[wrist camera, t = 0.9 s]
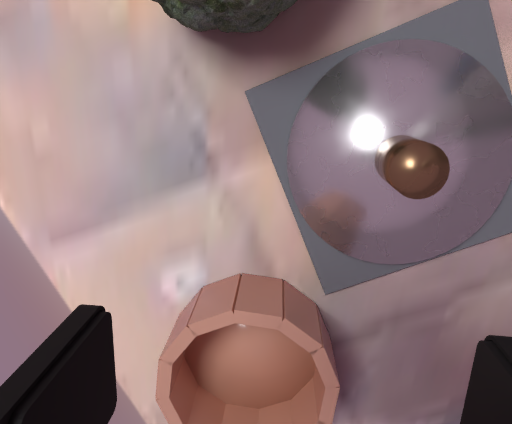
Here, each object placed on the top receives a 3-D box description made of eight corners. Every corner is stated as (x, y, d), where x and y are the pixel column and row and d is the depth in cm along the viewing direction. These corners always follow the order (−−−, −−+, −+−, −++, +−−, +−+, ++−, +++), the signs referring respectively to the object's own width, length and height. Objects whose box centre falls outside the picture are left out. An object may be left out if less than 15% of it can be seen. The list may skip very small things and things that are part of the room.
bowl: (296, 253, 34) (299, 287, 28) (349, 384, 37) (361, 439, 31) (151, 304, 36) (126, 345, 30) (213, 424, 39) (201, 483, 33)
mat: (482, -10, 28) (485, -11, 27) (539, 220, 32) (542, 222, 31) (245, 91, 30) (244, 91, 30) (324, 292, 34) (325, 294, 34)
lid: (479, 0, 28) (524, -21, 22) (533, 218, 31) (583, 242, 26) (253, 95, 30) (248, 96, 25) (329, 287, 34) (337, 322, 29)
